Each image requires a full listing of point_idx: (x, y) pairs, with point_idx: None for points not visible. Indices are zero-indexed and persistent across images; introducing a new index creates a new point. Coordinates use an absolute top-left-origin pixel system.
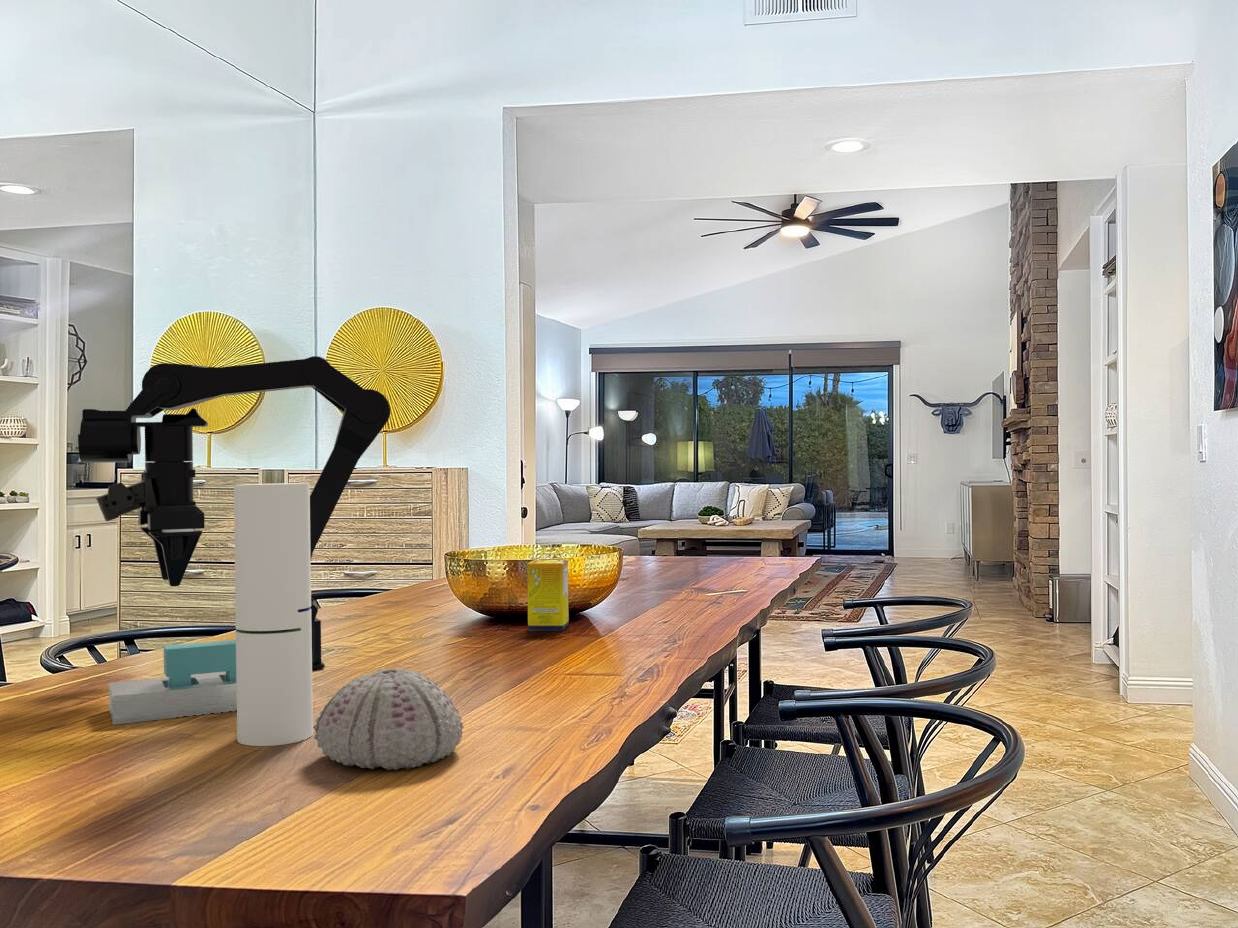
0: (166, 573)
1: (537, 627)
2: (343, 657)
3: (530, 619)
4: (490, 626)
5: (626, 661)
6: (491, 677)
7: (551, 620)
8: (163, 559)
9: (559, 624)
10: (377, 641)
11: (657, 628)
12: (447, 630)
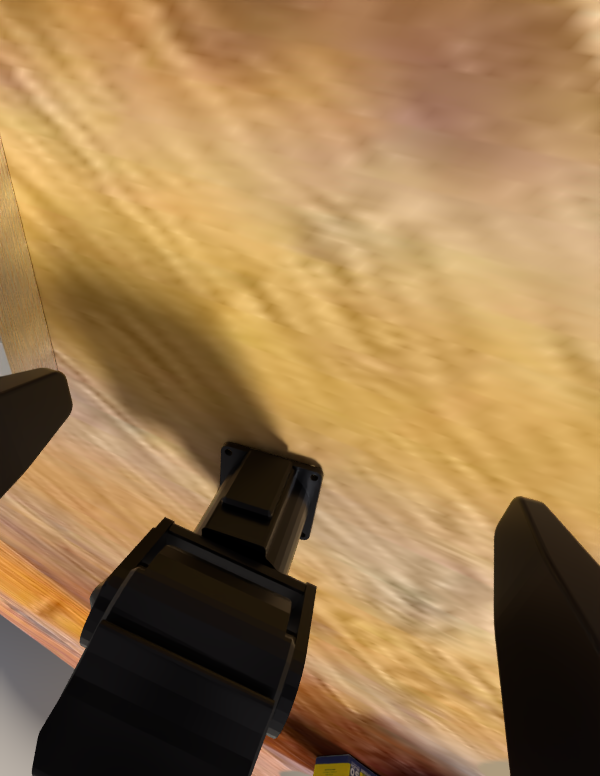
0: (511, 547)
1: (339, 759)
2: (319, 574)
3: (344, 774)
4: (425, 771)
5: None
6: (66, 567)
7: (323, 772)
8: (566, 671)
9: (317, 766)
10: (438, 673)
11: (260, 769)
12: (445, 747)
